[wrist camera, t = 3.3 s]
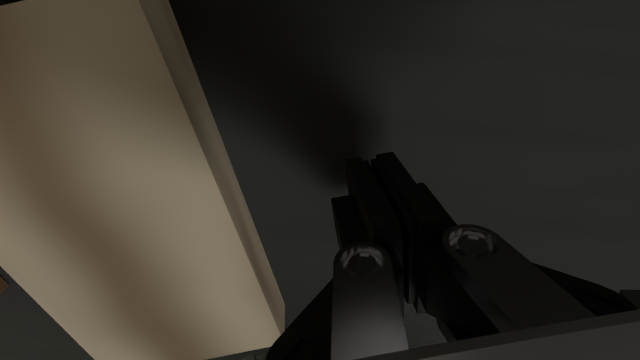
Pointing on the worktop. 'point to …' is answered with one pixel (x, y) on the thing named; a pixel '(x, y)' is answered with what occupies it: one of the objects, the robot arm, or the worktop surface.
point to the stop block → (2, 285)
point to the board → (124, 187)
